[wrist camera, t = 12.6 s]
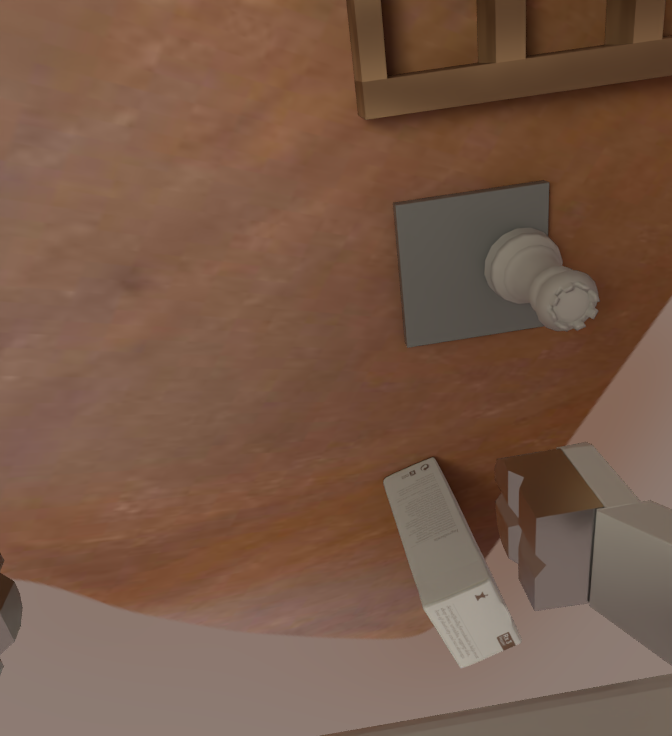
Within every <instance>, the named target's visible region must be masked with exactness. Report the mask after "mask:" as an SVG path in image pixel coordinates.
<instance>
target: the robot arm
mask: <svg viewBox="0 0 672 736" xmlns="http://www.w3.org/2000/svg"><path fill="white" fill-rule="evenodd" d="M495 481H496V483H497V485H498V487H499V488H500V490H501V492H502V493H501V494H500V496H499V497H498V498H497V500H496V501H495V507H496V520H497V526H498V531H499V535H500V538H501V541H502V544H503V547H504V549H505V551H506V553H507V556H508V558H509V559H511V560H513V561H514V562H516V563H518V566H519V567H518V569H519V581H520V582H521V584H522V587H523V589H524V591H525V593H526V595H527V597H528V599H529V601H530V603H531V605H532V607H533V609H534V611H539V610H546V609H552V608H559V607H566V606H573V605H580V604H587V603H589V606H590V607H592V608H593V609H594V610H596V611H597V612H599V613H600V614H601V615H603V616H604V617H605V618H607V619H608V620H609V621H611V622H612V623H614V624H615V625H616V626H618V627H619V628H620V629H622V630H623V631H625V632H626V633H627V634H629V635H630V636H631V637H633V638H634V639H636V640H637V641H638V642H640V643H641V644H642V645H644V646H645V647H647V648H648V649H649V650H651V651H652V652H653V653H655V654H657V655H658V656H659V657H660V658H662V659H663V660H664V661H666V662H667V663H669V664H670V665H671V666H672V509H670V508H668V507H665V506H663V505H660V504H658V503H656V502H653V501H651V500H650V501H643V502H641V501H640V500H639V499H638V498H637V496H636V495H635V494H634V493H633V492H632V491H631V489H630V488H629V487H628V486H627V485H626V483H625V482H624V481H623V480H622V479H621V478H620V476H619V475H618V474H617V473H616V472H615V471H614V469H613V468H612V467H611V466H610V465H609V464H608V462H607V461H606V460H605V459H604V458H603V457H602V455H601V454H600V453H599V452H598V451H597V450H596V448H595V447H594V446H593V445H592V444H590V443H588V442H583V443H578V444H573V445H568V446H563V447H558V448H556V449H552V450H546V451H541V452H535V453H529V454H523V455H517V456H511V457H505V458H499V459H496V464H495ZM3 563H4V559H3V557H2V555H1V553H0V570H1V568H2V565H3ZM21 617H22V603H21V597H20V593H19V591H18V588H17V586H16V584H15V582H14V581H13V580H11V579H10V578H8V577H6V576H5V575H3V574H1V573H0V654H2V653H3V652H4V651H5V650H6V649H7V648H8V647H9V646H10V645H11V644H12V643H14V641H15V639H16V636H17V634H18V631H19V629H20V626H21ZM3 667H4V666H3V664H2V661H1V659H0V674H1V672H2V669H3ZM321 736H672V674H667V675H661V676H656V677H650V678H644V679H639V680H633V681H628V682H622V683H616V684H611V685H605V686H599V687H593V688H588V689H582V690H577V691H571V692H565V693H560V694H554V695H549V696H543V697H538V698H532V699H526V700H521V701H515V702H509V703H504V704H498V705H492V706H487V707H481V708H475V709H470V710H464V711H458V712H453V713H447V714H442V715H435V716H430V717H424V718H418V719H413V720H407V721H401V722H396V723H390V724H384V725H378V726H373V727H367V728H362V729H356V730H350V731H344V732H339V733H333V734H327V735H321Z"/></svg>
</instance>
